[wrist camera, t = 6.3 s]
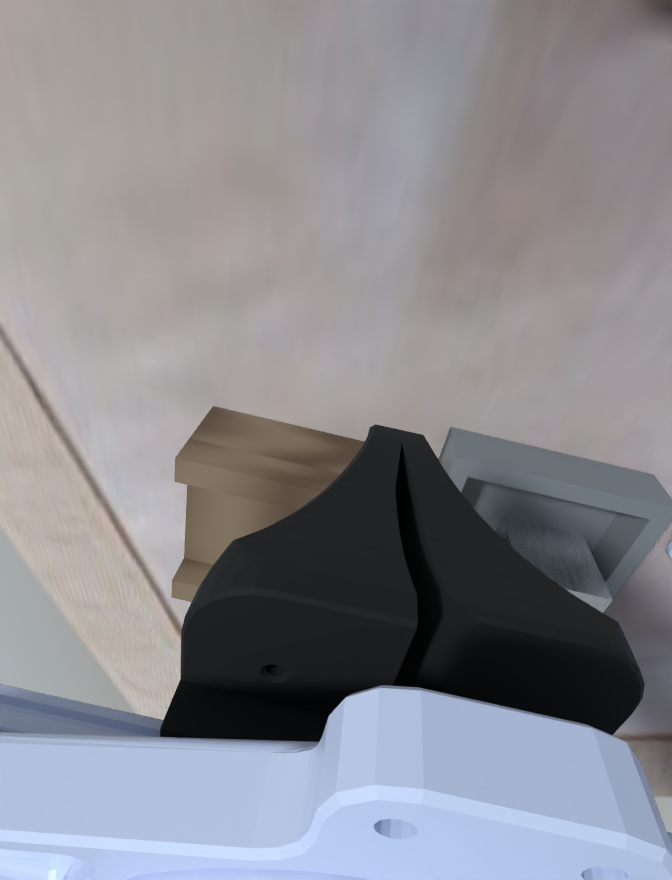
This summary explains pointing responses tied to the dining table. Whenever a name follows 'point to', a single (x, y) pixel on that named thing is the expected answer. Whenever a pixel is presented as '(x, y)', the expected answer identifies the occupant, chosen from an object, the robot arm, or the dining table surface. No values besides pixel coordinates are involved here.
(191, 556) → the slot block
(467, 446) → the tray
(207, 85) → the dining table surface
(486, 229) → the dining table surface
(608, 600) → the grey cube
